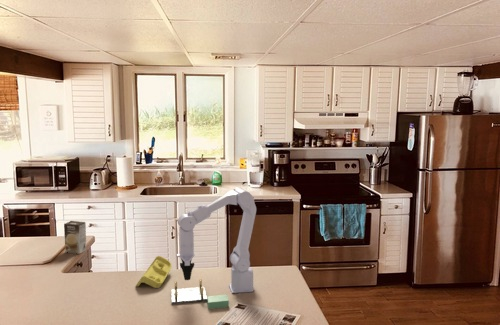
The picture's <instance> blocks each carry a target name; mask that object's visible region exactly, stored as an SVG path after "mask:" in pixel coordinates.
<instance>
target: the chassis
mask: <svg viewBox="0 0 500 325" xmlns="http://www.w3.org/2000/svg"><path fill="white" fill-rule="evenodd" d="M198 283H199V286H197V287H195V286H194V287H186V288H185V287H184V288H178V281H174V289H171V305H181V304H191V303H192V304H193V303H202V302H204V303H205V302H207V292H206V287H205V286H203V280H202V279H199V281H198Z"/></svg>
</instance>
